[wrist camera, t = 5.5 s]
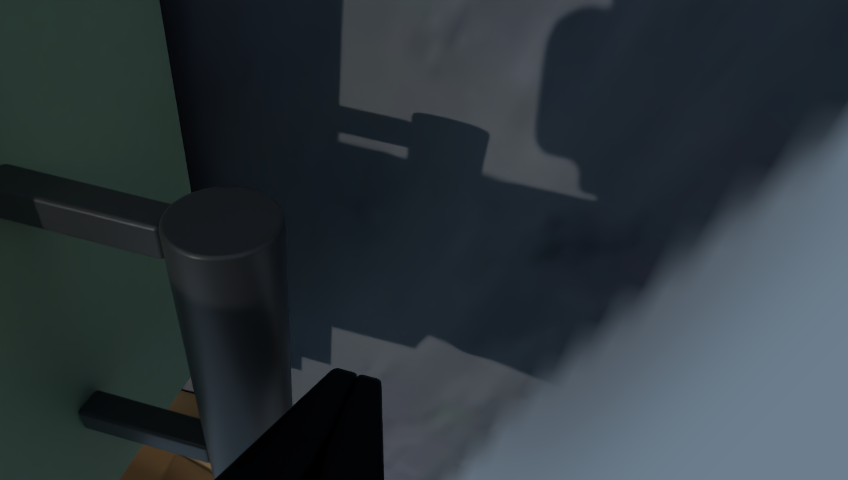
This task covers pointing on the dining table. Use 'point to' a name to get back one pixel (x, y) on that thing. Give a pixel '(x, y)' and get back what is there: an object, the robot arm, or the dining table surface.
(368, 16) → the dining table surface
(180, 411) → the control block
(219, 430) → the drawer
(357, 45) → the dining table surface
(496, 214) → the dining table surface
